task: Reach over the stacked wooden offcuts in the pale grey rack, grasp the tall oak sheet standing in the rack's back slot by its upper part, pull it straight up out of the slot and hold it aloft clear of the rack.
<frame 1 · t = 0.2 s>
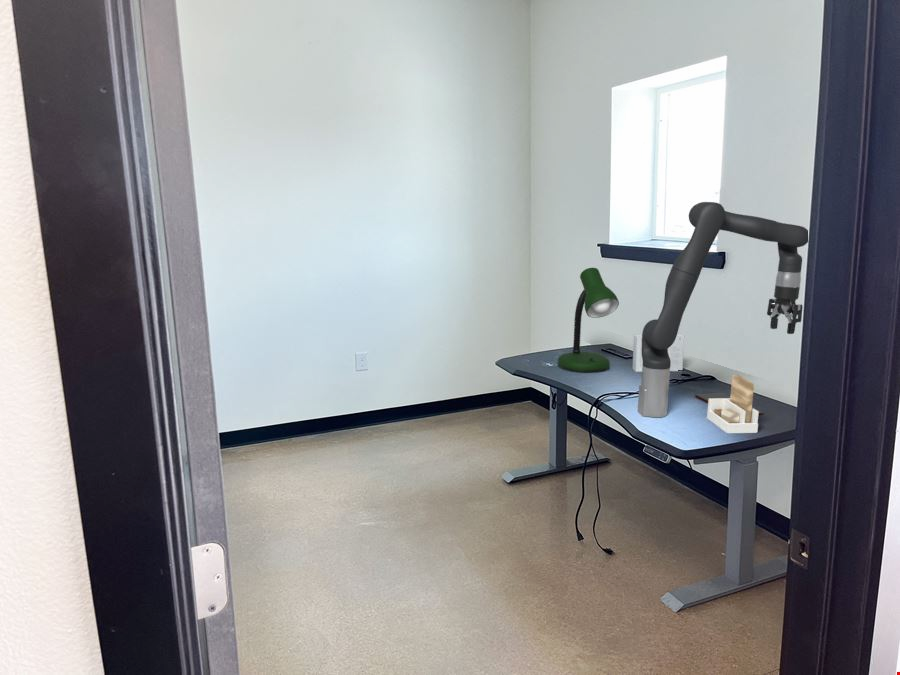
hand: (781, 331, 227), 29 cm above the table, fingers open, 8 cm apart
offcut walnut: (720, 421, 222), resting in rack
rack: (731, 425, 219), on the table
offcut oak: (728, 428, 217), resting in rack, touching offcut maple
skincare box: (656, 370, 288), on the table
offcut maple: (729, 419, 216), point 3 cm above the table, touching offcut oak
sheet: (738, 425, 219), resting in rack
smartphone: (727, 407, 240), on the table
desk lamp: (587, 369, 291), on the table
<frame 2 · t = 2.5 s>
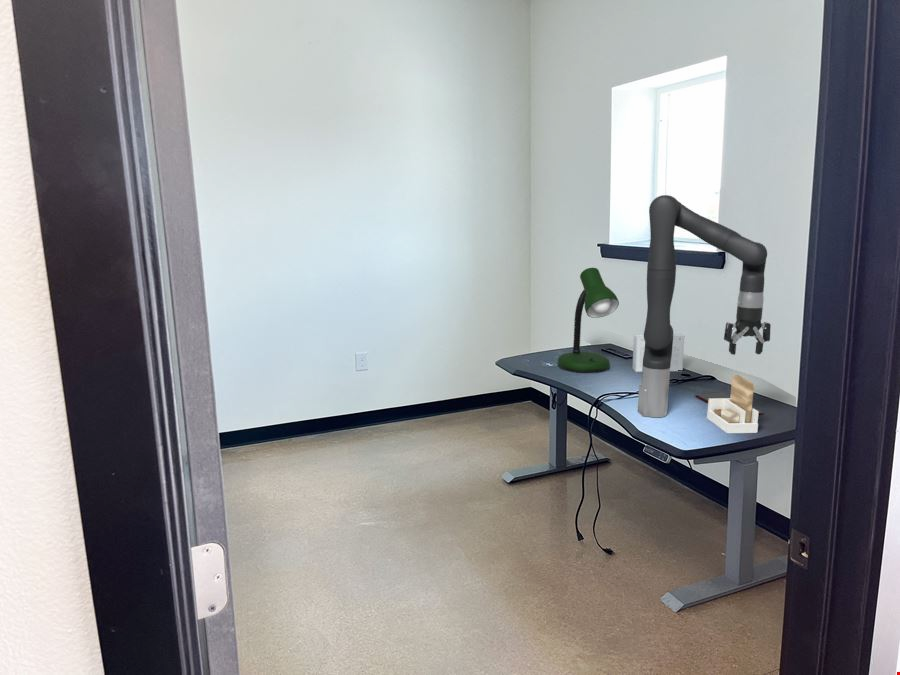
hand: (745, 354, 214), 24 cm above the table, fingers open, 8 cm apart
offcut oak: (728, 428, 217), resting in rack
offcut maple: (729, 419, 216), point 3 cm above the table
everything else where it was.
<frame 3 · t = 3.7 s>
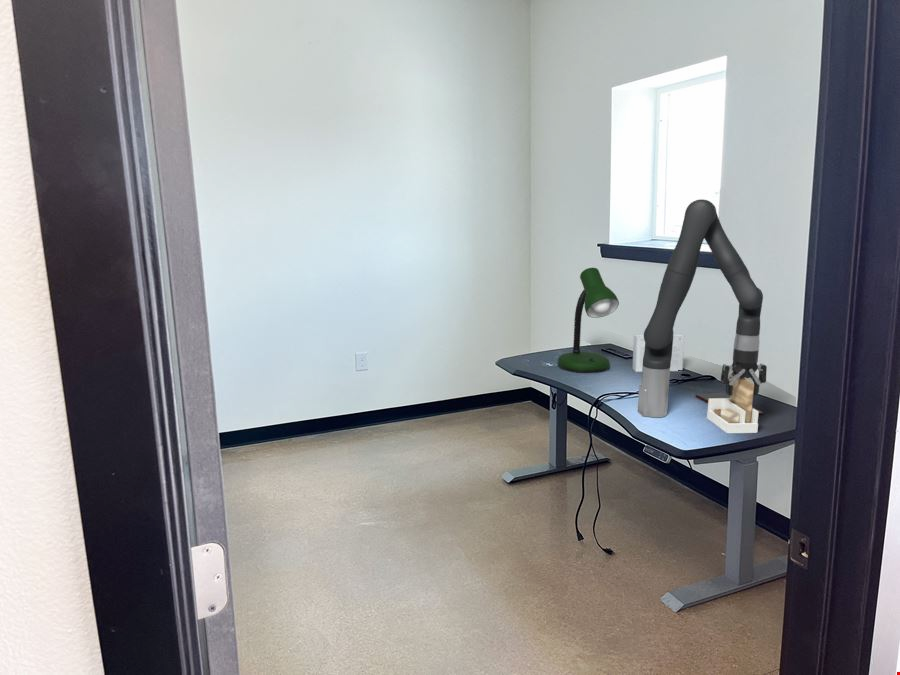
hand: (741, 395, 217), 10 cm above the table, fingers open, 8 cm apart
offcut oak: (728, 428, 217), resting in rack, touching offcut maple
offcut maple: (729, 419, 216), point 3 cm above the table, touching offcut oak
everything else where it was.
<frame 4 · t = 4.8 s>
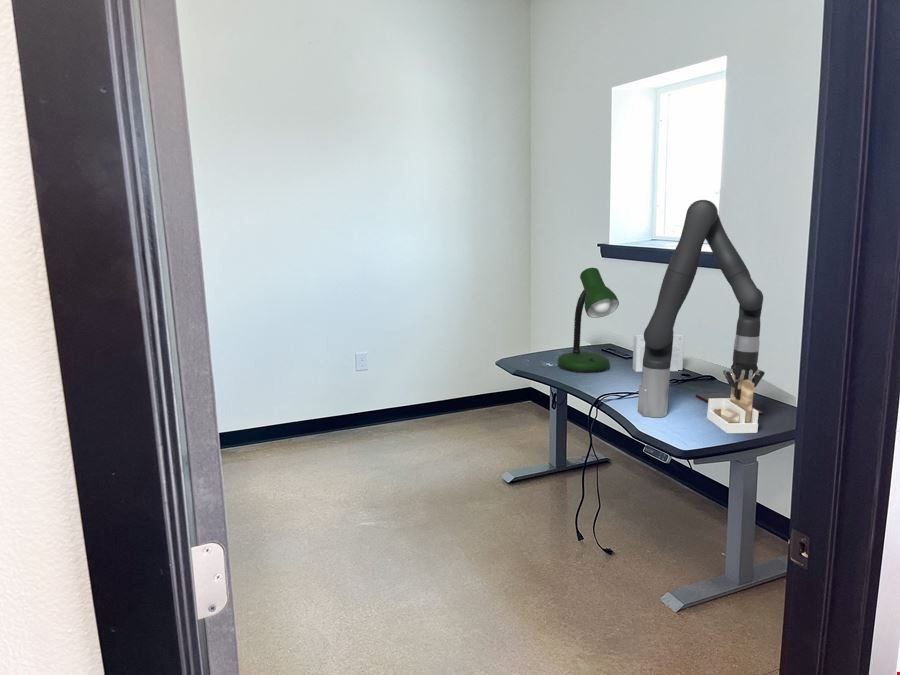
hand: (741, 399, 217), 9 cm above the table, fingers closed on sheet, 2 cm apart
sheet: (738, 424, 219), resting in rack, touching gripper
everything else where it was.
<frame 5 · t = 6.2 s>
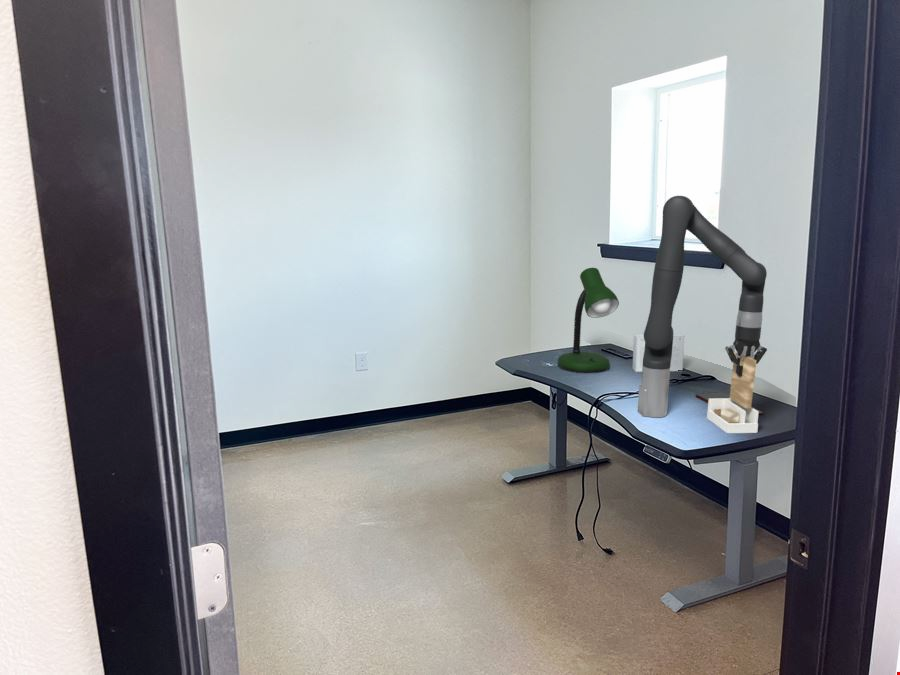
hand: (743, 375, 216), 17 cm above the table, fingers closed on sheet
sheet: (739, 402, 218), point 8 cm above the table, touching gripper
everything else where it was.
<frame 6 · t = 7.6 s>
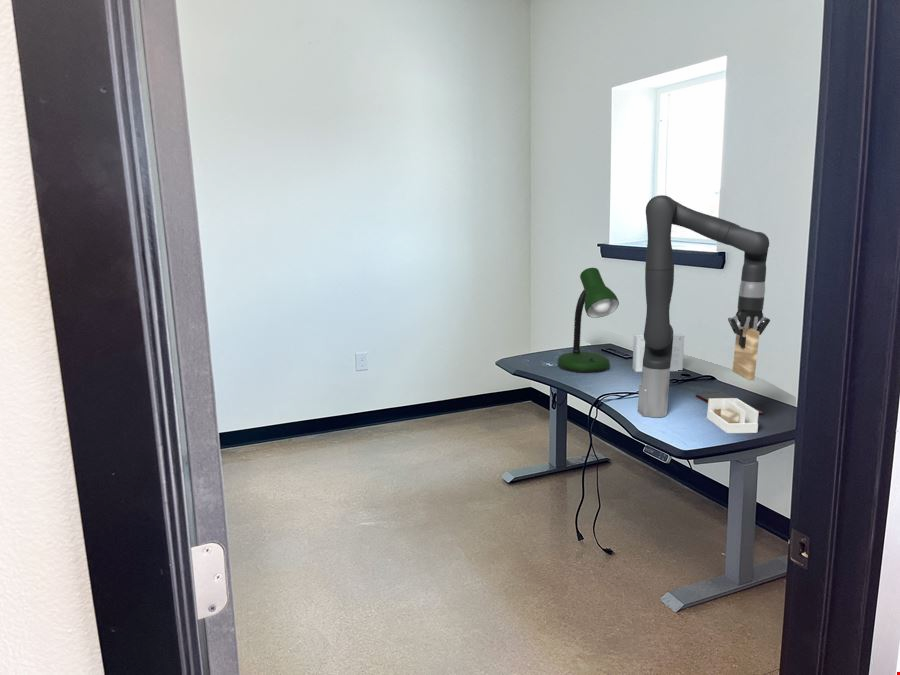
hand: (746, 347, 214), 27 cm above the table, fingers closed on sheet
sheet: (743, 375, 216), point 17 cm above the table, touching gripper
everything else where it was.
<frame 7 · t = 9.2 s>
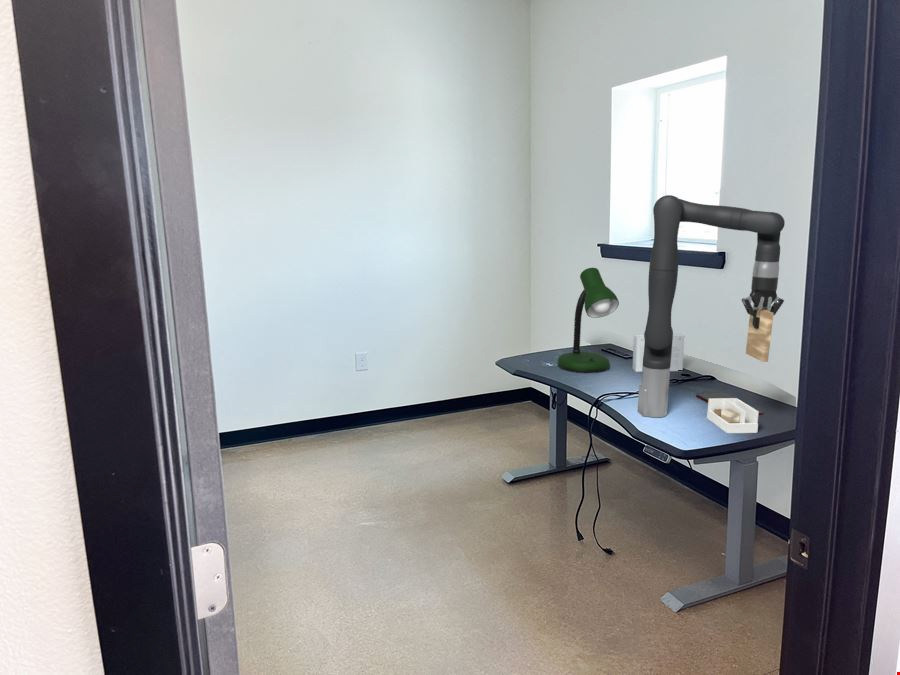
hand: (759, 327, 213), 33 cm above the table, fingers closed on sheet
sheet: (756, 357, 216), point 23 cm above the table, touching gripper
everything else where it was.
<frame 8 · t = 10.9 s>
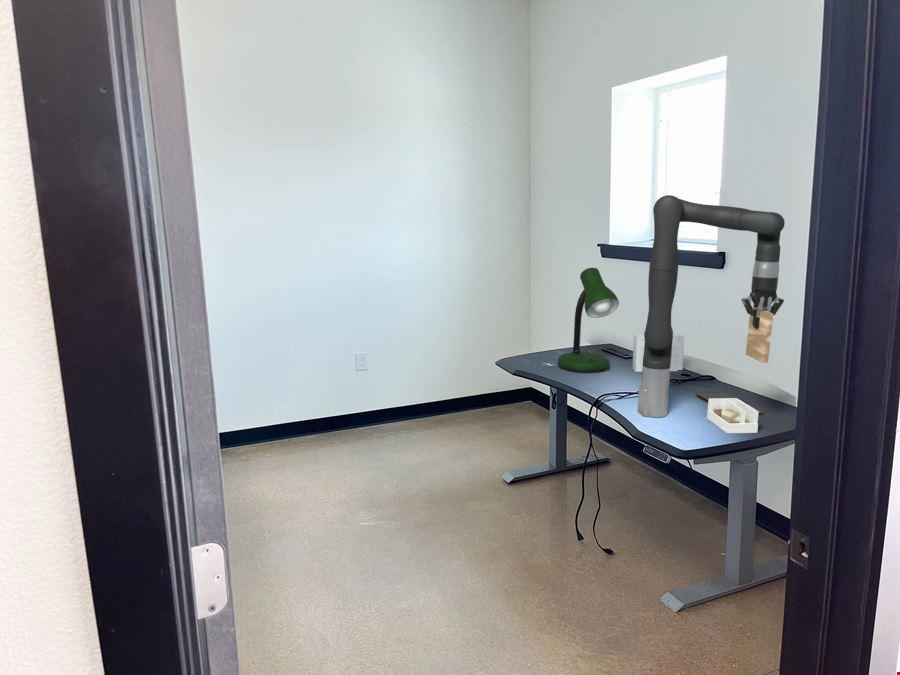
hand: (759, 327, 213), 33 cm above the table, fingers closed on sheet
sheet: (756, 358, 216), point 23 cm above the table, touching gripper
everything else where it was.
at the end: the gripper is holding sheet; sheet moved 23.2 cm from its start; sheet touching gripper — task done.
